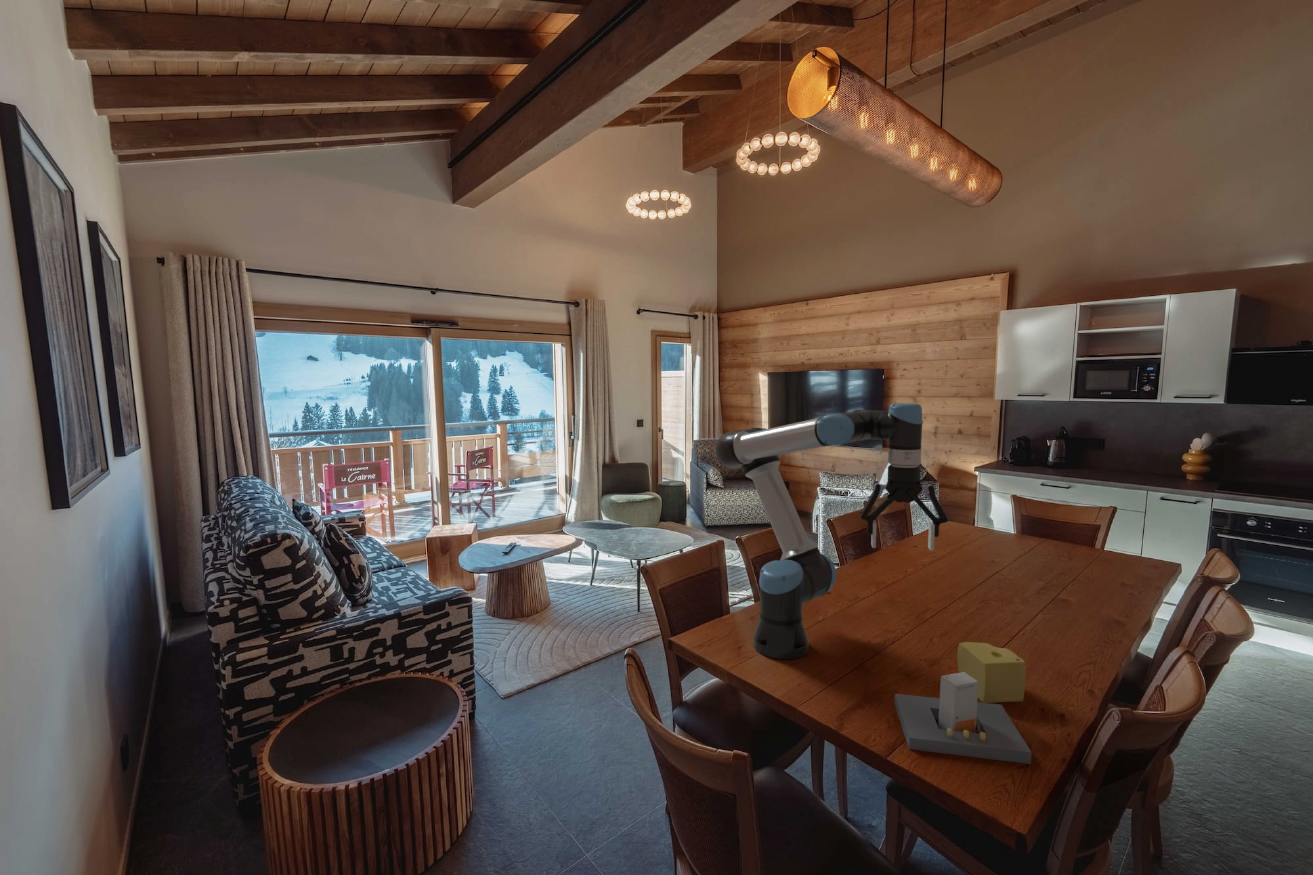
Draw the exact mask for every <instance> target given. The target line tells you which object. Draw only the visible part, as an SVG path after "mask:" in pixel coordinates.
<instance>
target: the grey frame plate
mask: <svg viewBox="0 0 1313 875" xmlns="http://www.w3.org/2000/svg"><path fill="white" fill-rule="evenodd" d="M939 704H940V697H929V696H919V695H913V694H912V695H910V694H903V693H902V694H901V693H894V706H895V710H896V712H897V716H898V718H899V721H900V725H901V728H902V732H903V736H904V738H905V741H906V744H907V747H908V750H911V751H912V750H913V751H921V752H929V753H930V752H931V753H937V754H939V753H940V754H945V755H953V756H954V755H955V756H963V757H970V758H976V759H977V758H978V759H985V760H995V761H1002V762H1010V763H1018V764H1027V765H1031V764H1032V750H1031V749H1030V748H1029V746H1028V744H1027V742H1026V741H1025V740H1024V738H1023V736H1022V735H1021V733H1020V732H1019V730H1018V729H1017V727H1016V725H1015V724H1014V723H1013V721H1012V719H1011V718H1010V716H1009V715H1008V713H1007V712H1006V710H1005V708H1004V707H1003V705H1002V704H997V703H983V702H981V701H980V702H978V701H977V717H976V729H977V731H978V732H979V733H978V732H976V733H972V732H969V731H968V730H964V731H954V730H953V729H951V728H947V730H946V729H940V728H939V727H938V723H937V721H936V720H939Z"/></svg>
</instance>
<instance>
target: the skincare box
mask: <svg viewBox="0 0 1313 875" xmlns="http://www.w3.org/2000/svg"><path fill="white" fill-rule="evenodd" d="M978 684H979V682H978V681H977V680H975V679H974V678H972V677H971V676H969V675H968V674H966V673H965V672H962V673H959V672H958V673H957V672H956V673H950V674H945V675H941V676H940V684H939V685H940V687H939V688H940V689H939V698H940V704H939V719H938V723H937V725H938V728H939V729H946V730H947V728H951V729H953V730H954V731H964V730H968V731H969V732H972V733H977V732H976V731H977V730H976V729H977V727H976V717H977V702H978V699H979V698H978Z"/></svg>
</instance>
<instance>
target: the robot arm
mask: <svg viewBox="0 0 1313 875" xmlns="http://www.w3.org/2000/svg"><path fill="white" fill-rule="evenodd" d="M923 423H924V421H923V408H922V405H920V404H919V403H910V402H906V403H905V402H904V403H903V402H902V403H901V402H898V403H891V404H890V405H889V408H888V410H872V409H871V410H868V409H863V408H862V409H850V410H847V411H846V412H834V413H830V414H827V415H824V416H821V417H817V418H816V417H815V418H812V419H806V420H804V421H799V422H793V423H789V424H784V425H781V426H775V427H771V428H770V427H769V428H765V427H751V428H748V429H747V428H746V429H740V430H730V431H728V432H725V433H723V434H722V435H721V436H720V437H719V438H718V439H717V441H716V444H715V455H716V458H717V460H718V462H719V463H721V465H723V466H725V467H726V468H728V469H731V470H733V469H734V470H735V469H736V470H738V469H742V471H743V473H744V474H743V475H745V477H746V478H748V479H750V480H752V483H753V484H754V487H755V489H756V491H757V493H758V497H759V499H760V502H761V503H762V505H763V506H762V507H763V508H764V511H765V513H766V516H767V518H768V520H769V523H770V525H771V528H772V530H773V532H774V535H775V537H776V539H777V542H778V544H779V547H780V549H781V551H782V554H781V557H780V559H779V560H777V559H775V560H771V561H769V562H767V563H765V564H764V565H763V566H762V567H761V569H760V573H759V580H758V583H759V584H758V585H759V619H758V623H757V626H756V628H755V631H754V633H753V647H754V649H755V650H756V652H758V653H760V654H762V656H763V655H764V656H766V657H768V658H771V659H772V658H773V659H778V660H794V659H795V660H796V659H799V658H801V657H803V656H805V655H806V654H808V652H809V648H810V647H809V646H810V645H809V643H810V642H809V639H808V638H809V637H808V635H807V632H806V628H805V625H804V623H803V605H804V604H806V603H809V602H811V601H813V600H814V599H817V598H820V597H823V596H824V595H826V594H827V593H828V592H830V591H831V590H832V589H833V587H834V586H835V584H836V581H837V570H836V566H835V564H834V562H833V561H832V559H831V558H830V557H829V556H826V554H824V553H821V551H820V550H819V547H818V545H816V544H814V543H813V542H811V541H810V538H809V537H808V534H807V533H806V530H805V528H804V525H803V523H802V521H801V519H800V516H799V513H798V511H797V510H796V506H795V504H794V502H793V500H792V497H791V495H790V493H789V491H788V489H787V487H786V484H785V482H784V480H783V477H782V474H781V473H780V471H779V466H780V465H781V460H780V458H779V456H781V455H786V454H790V453H795V452H801V451H807V450H813V449H818V448H825V447H831V446H839V445H844V444H848V443H853V442H858V441H863V440H864V441H865V440H880V441H888V452H887V453H888V455H887V456H888V457H887V463H888V464H889V465H888V466H887V482H886V484H882V483H881V484H880V483H878V482H875V483H874V484H873V489H872V492H871V494H870V496H869V497H868V499H867V501H866V503H865V505H864V506H863V508H862V510H861V512H860V513H859V516H860V519H861V520H864V521H866V522H867V523H866V532H867V534H868V535H871V537H870V538H871V540H870V541H871V542H870V545H871V548H872V549H876V548H877V521H876V519H877V518H878V517H879V516H880V515H881V514H882V513H883V512H884V511H885V510H886V509H887V508H888V507H889V506H890V505H892V504H893V503H894V502H896V503H907V504H909V503H910V504H911V503H912V502H915V503H916V504H917V505H918V506H919V507H920V510H922V511H923V512H924V514H925V515H926V516H927V517H928V518H929V519H930V520H931V521H932V522H928V535H927V537H928V538H927V548H928V550H930V552H934V551H935V538H939V536H940V525H941V524H943V523H944V524H945V523H948V517H947V515H946V514H945V512H944V510H943V508H942V505H941V504H940V501H939V499H938V497H937V496H936V493H935V486H934V485H932V483H927V485H926V484H924V485H921V477H922V474H921V470H922V468H921V466H920V465H921V464H922V436H923ZM884 491H887V493H888V494H887V495H886V496H885V497H884V499H883V500H882V501H881V502H880V503H879V504H878V505H876V507H875V508H874V509H873V510H872V508H873V506H874V505H875V503H876V502H877V499H878V498H879V496H880V494H881V493H883V492H884ZM922 491H924V493H925V494H926V495H928V498H929V499H930V500H929V501H930V502H931V504H932V505H933V508H934V510H935V511H936V513H937V515H938V516H937V517H936V516H935V515H934V513H933V512H932V511H931V510H930V509H929V508H928V506H927V505H926V504H925V503H924V502H923V501H922V499H920V497H919V495H920V494H921V492H922ZM870 511H871V512H870Z"/></svg>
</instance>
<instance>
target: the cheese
mask: <svg viewBox="0 0 1313 875" xmlns="http://www.w3.org/2000/svg"><path fill="white" fill-rule="evenodd" d="M956 655H957V668H958V669H957V670H958V673H962V672H965V673H966V674H968V675H969V676H971V677H972V678H974V679H975V680H977V681H978V682H979V684H978V699H979V700H980V702H981V703H989V704H997V703H1009V702H1024V698H1025V690H1026V689H1025V688H1026V669H1027V668H1026V666H1027V664H1026V661H1024V659H1022V658H1021V657H1019V655H1017V654H1016V653H1015V652H1013V651H1012V650H1010V649H1009V648H1005V647H1004V648H1003V647H997V646H994V645H993V644H990V643H987V642H973V641H963V642H959V643H958V648H957V654H956Z"/></svg>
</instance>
